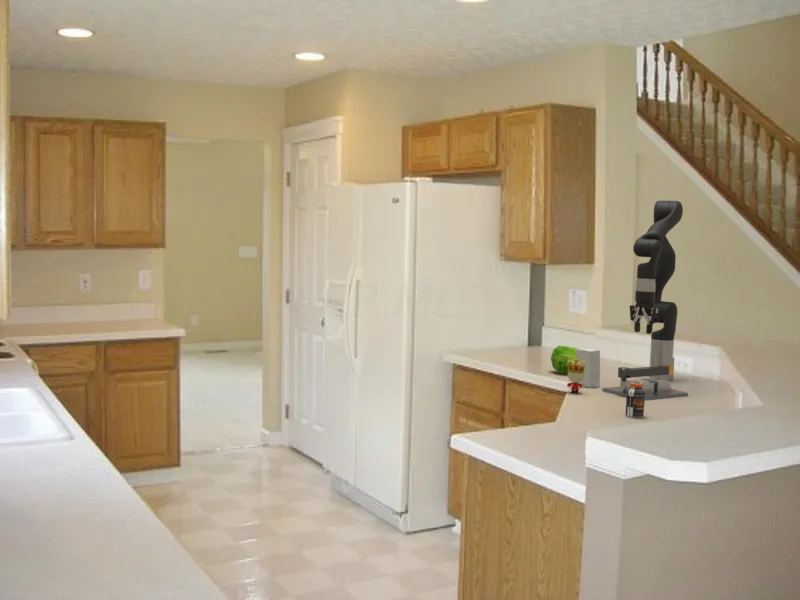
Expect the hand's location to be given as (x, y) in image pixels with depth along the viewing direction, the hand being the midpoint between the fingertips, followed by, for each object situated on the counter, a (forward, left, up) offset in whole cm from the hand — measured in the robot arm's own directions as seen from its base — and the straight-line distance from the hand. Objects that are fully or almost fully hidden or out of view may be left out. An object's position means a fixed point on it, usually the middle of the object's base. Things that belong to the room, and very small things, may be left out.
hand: (642, 332), depth 349 cm
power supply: (+9, +8, -21) cm, 24 cm away
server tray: (+6, +8, -22) cm, 24 cm away
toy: (+31, -3, -23) cm, 39 cm away
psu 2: (0, +8, -21) cm, 23 cm away
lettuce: (+1, -38, -23) cm, 44 cm away
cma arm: (+6, +8, -16) cm, 18 cm away
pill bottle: (+40, +37, -23) cm, 59 cm away
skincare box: (+16, -13, -23) cm, 31 cm away
